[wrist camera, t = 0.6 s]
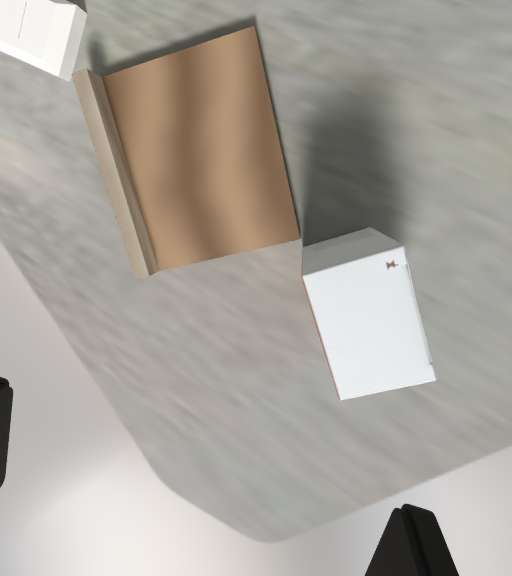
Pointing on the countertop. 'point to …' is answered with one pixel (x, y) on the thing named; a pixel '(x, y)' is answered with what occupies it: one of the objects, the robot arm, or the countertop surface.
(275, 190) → the shelf board
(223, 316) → the countertop surface
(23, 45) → the soap bar
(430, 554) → the robot arm
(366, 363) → the small box
